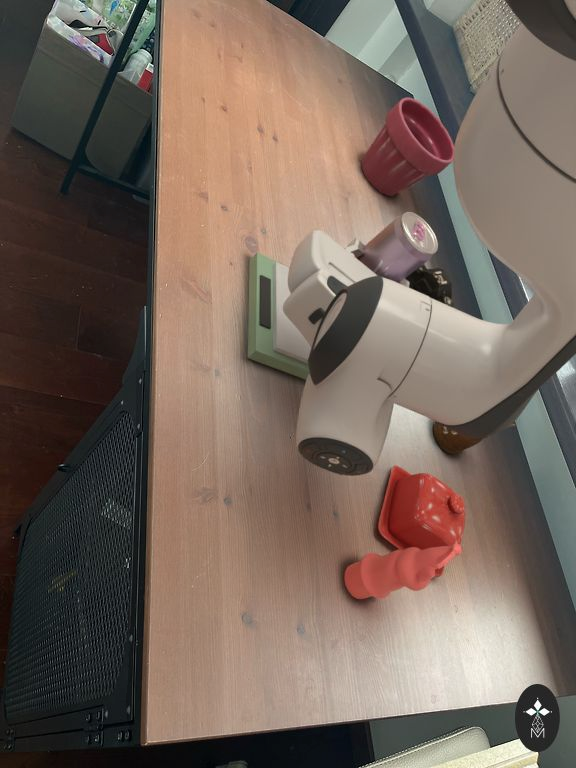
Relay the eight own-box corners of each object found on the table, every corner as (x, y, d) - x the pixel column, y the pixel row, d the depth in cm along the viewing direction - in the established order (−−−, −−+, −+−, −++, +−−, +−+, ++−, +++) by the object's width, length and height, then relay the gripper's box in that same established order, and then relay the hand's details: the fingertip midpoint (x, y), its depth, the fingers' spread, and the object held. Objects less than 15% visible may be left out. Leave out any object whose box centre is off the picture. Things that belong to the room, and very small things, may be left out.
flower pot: (393, 219, 113) (446, 172, 105) (340, 161, 111) (390, 109, 102) (413, 190, 123) (463, 146, 115) (365, 137, 121) (412, 88, 112)
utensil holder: (460, 431, 96) (525, 400, 88) (457, 464, 92) (525, 434, 84) (433, 411, 94) (497, 377, 86) (429, 443, 90) (496, 410, 82)
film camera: (449, 334, 107) (496, 305, 101) (427, 368, 98) (476, 338, 92) (384, 255, 106) (427, 220, 99) (355, 282, 97) (400, 245, 90)
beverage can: (356, 301, 82) (440, 233, 72) (349, 331, 78) (438, 264, 68) (321, 274, 80) (403, 201, 70) (313, 304, 76) (398, 231, 66)
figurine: (358, 615, 69) (463, 588, 58) (332, 576, 69) (433, 542, 59) (380, 588, 72) (483, 559, 62) (356, 551, 73) (455, 515, 62)
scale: (247, 358, 76) (259, 347, 74) (249, 260, 84) (260, 248, 82) (352, 397, 84) (365, 388, 83) (344, 304, 93) (356, 295, 91)
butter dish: (387, 463, 83) (435, 440, 77) (446, 510, 86) (496, 492, 80) (368, 534, 75) (420, 515, 69) (434, 584, 78) (488, 569, 72)
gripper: (452, 381, 67) (458, 299, 76) (306, 267, 60) (332, 192, 69) (409, 405, 71) (420, 325, 80) (269, 301, 64) (298, 227, 73)
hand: (378, 263), depth 74 cm, fingers closed on beverage can, 6 cm apart
